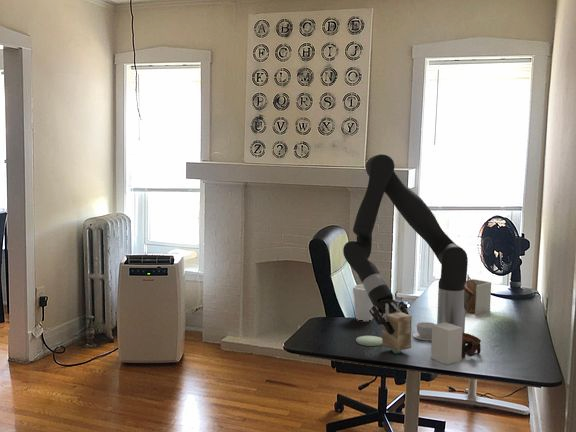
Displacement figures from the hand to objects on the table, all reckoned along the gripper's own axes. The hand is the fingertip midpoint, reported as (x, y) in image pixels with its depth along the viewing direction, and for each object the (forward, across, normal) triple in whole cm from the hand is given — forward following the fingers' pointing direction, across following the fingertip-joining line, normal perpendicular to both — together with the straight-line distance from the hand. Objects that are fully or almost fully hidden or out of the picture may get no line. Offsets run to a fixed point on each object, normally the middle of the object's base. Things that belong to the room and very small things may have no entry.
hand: (400, 331), depth 207 cm
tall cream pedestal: (+14, +9, -3) cm, 17 cm away
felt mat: (-5, 0, +16) cm, 16 cm away
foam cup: (-22, +17, +33) cm, 43 cm away
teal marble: (+5, -1, +5) cm, 7 cm away
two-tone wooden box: (-12, +66, +25) cm, 71 cm away
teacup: (0, +21, +12) cm, 24 cm away
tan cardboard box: (+3, 0, +5) cm, 6 cm away
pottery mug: (+15, +18, -3) cm, 23 cm away
